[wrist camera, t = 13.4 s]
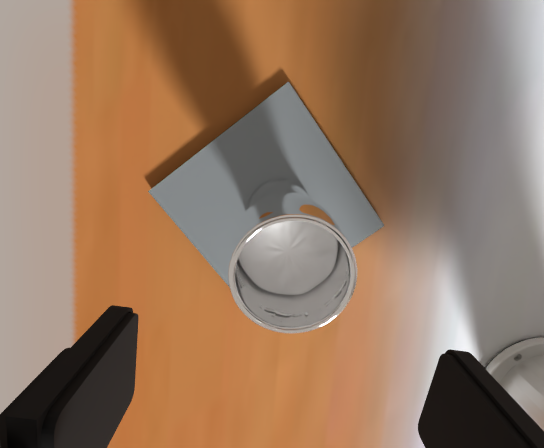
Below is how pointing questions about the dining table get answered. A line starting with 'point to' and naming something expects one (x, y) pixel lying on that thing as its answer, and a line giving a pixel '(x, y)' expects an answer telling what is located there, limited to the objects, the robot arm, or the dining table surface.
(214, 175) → the grey mat
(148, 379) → the dining table surface
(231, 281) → the beer glass
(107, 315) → the robot arm
